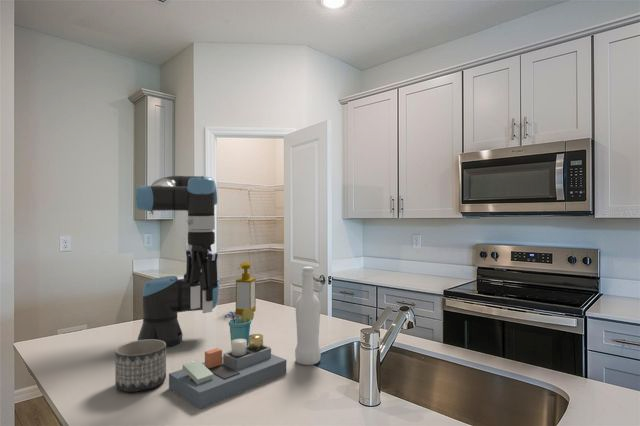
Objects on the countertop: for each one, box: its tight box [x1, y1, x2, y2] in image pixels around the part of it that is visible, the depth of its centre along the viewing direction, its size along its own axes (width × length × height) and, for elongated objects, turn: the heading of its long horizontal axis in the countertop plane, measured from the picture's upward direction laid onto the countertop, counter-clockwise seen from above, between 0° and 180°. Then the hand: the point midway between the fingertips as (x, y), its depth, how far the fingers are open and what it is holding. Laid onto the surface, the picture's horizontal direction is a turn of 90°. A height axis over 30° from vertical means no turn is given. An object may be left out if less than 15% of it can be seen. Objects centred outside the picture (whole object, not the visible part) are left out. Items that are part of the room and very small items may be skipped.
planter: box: [114, 339, 167, 392], centre depth 106 cm, size 13×13×10 cm
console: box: [168, 344, 287, 410], centre depth 108 cm, size 16×28×7 cm, turn 137°
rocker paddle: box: [181, 359, 214, 384], centre depth 101 cm, size 8×4×1 cm, turn 47°
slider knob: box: [204, 347, 223, 368], centre depth 108 cm, size 2×4×4 cm, turn 137°
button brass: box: [248, 333, 264, 350], centre depth 115 cm, size 4×4×4 cm
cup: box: [224, 308, 255, 348], centre depth 129 cm, size 14×8×15 cm, turn 156°
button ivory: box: [231, 339, 247, 356], centre depth 110 cm, size 4×4×4 cm
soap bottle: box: [235, 261, 257, 315], centre depth 179 cm, size 7×13×24 cm, turn 170°
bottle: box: [294, 266, 322, 366], centre depth 122 cm, size 8×8×30 cm
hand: (201, 310), depth 112 cm, fingers open, 6 cm apart
